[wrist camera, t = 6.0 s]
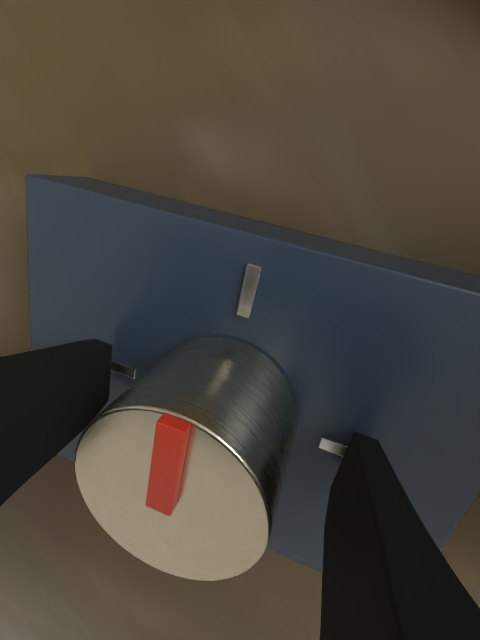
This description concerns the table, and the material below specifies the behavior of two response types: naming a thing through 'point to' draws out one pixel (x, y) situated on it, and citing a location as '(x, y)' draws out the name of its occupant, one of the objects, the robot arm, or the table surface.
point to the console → (274, 334)
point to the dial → (193, 459)
